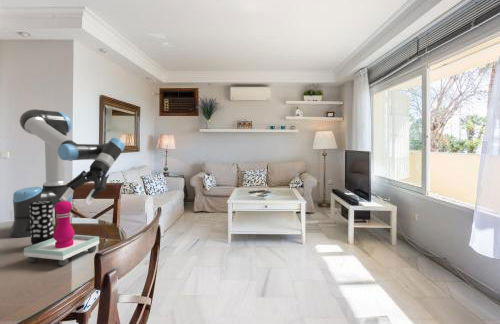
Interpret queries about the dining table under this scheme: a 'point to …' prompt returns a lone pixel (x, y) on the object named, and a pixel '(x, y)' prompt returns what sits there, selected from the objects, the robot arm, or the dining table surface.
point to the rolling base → (61, 249)
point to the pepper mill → (63, 225)
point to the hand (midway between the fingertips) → (73, 202)
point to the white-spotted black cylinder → (41, 221)
